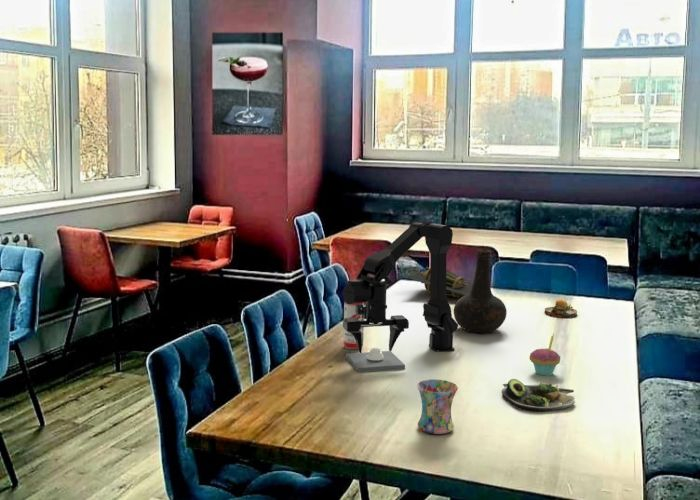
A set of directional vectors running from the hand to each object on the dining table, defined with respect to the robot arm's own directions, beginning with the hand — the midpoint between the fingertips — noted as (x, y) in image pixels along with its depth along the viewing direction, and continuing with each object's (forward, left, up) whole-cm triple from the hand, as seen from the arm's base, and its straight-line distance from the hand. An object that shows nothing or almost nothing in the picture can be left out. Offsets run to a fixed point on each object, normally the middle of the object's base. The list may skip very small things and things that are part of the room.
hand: (375, 351), depth 229 cm
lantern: (-52, -83, -4) cm, 98 cm away
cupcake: (-45, +19, -4) cm, 49 cm away
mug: (+1, +52, -4) cm, 52 cm away
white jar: (0, 0, -2) cm, 3 cm away
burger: (-86, -43, -4) cm, 96 cm away
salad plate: (-32, +38, -4) cm, 50 cm away
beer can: (+2, -17, -4) cm, 18 cm away
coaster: (0, 0, -4) cm, 4 cm away
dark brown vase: (-46, -28, -4) cm, 54 cm away
